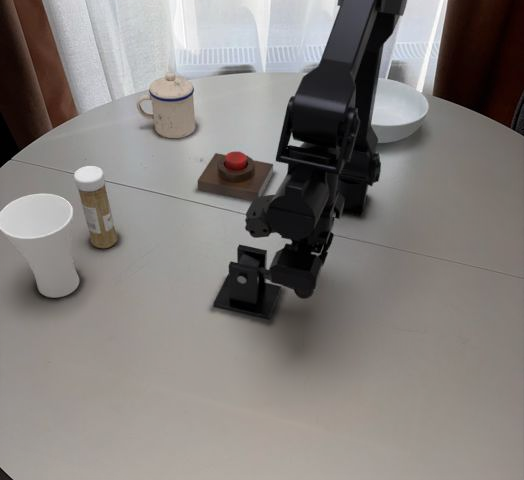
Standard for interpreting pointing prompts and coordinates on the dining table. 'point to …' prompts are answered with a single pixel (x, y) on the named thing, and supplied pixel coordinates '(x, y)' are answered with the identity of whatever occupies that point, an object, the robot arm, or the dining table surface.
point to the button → (235, 161)
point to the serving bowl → (397, 110)
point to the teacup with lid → (171, 106)
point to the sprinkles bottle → (96, 206)
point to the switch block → (235, 178)
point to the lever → (265, 274)
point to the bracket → (248, 287)
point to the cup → (43, 240)
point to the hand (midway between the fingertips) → (304, 281)
